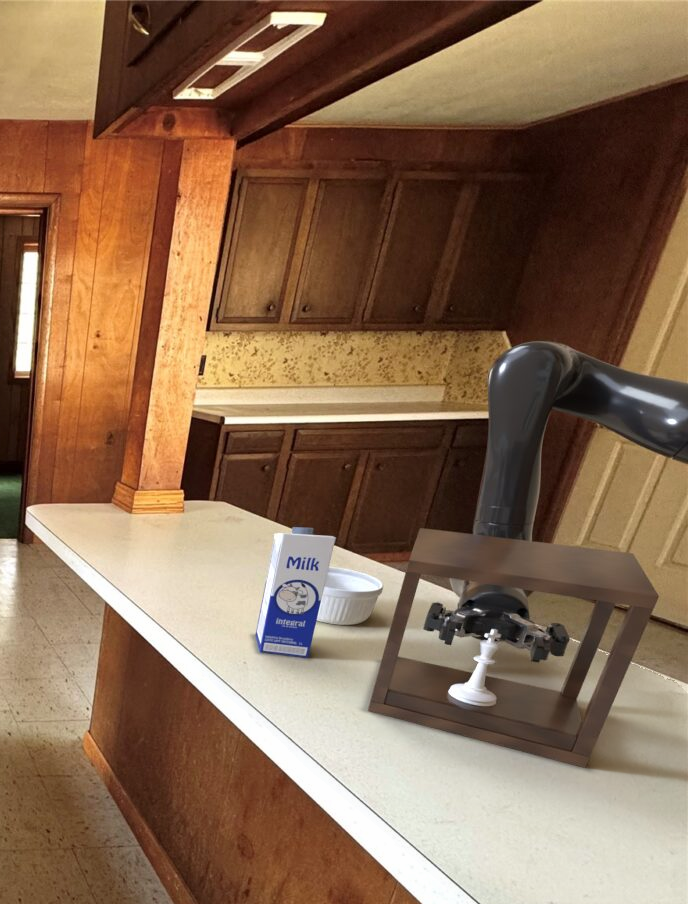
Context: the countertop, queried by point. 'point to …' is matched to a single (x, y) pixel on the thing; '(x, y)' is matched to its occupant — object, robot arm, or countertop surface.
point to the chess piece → (479, 676)
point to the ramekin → (348, 597)
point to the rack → (517, 705)
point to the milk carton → (293, 592)
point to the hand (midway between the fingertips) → (492, 646)
